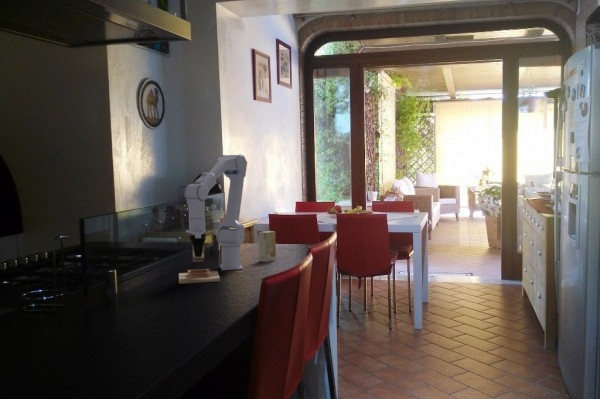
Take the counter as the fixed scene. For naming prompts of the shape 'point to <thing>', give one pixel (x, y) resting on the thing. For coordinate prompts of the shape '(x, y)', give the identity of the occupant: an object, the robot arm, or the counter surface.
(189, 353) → the counter surface
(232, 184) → the robot arm
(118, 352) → the counter surface
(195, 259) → the sleeve
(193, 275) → the holder
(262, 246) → the skincare box
